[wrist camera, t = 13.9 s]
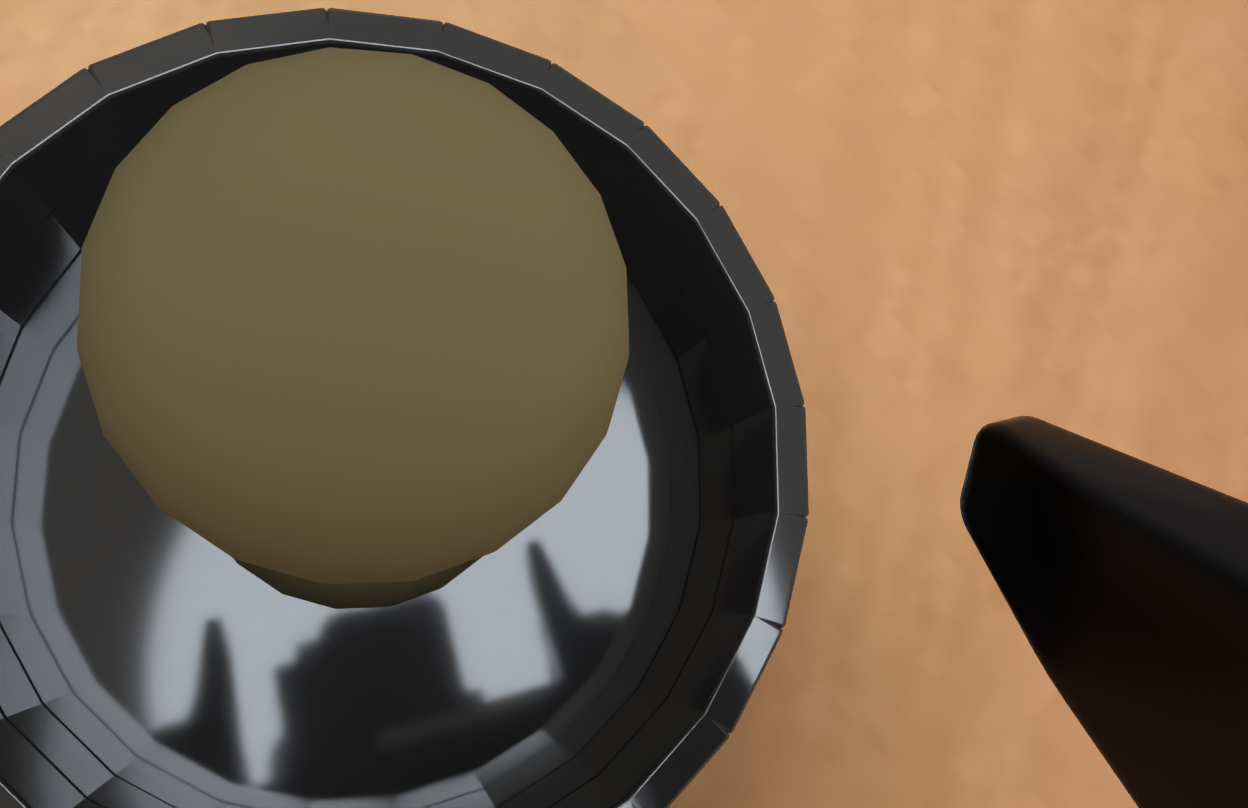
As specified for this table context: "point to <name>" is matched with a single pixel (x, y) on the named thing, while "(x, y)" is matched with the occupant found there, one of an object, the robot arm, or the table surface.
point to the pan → (440, 620)
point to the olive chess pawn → (353, 321)
